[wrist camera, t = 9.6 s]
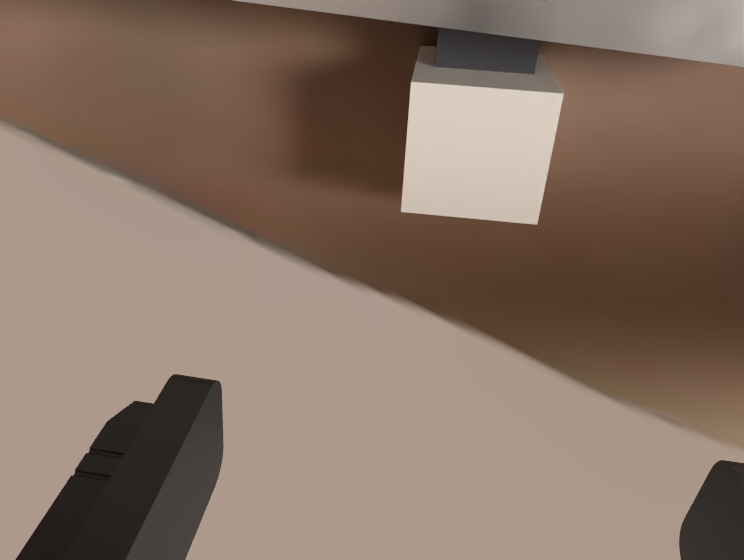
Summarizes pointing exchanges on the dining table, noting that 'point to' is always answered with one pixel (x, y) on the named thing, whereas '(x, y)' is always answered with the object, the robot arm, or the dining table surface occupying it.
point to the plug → (480, 128)
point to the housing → (572, 22)
